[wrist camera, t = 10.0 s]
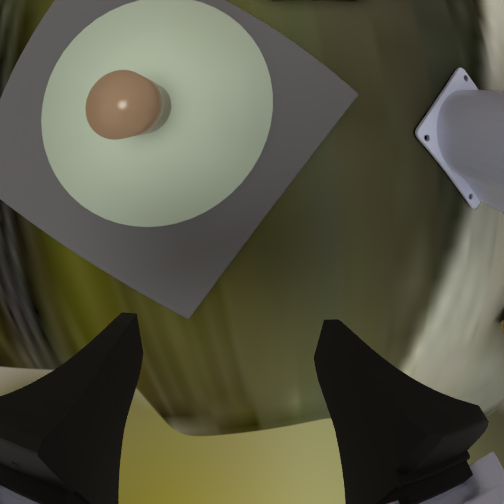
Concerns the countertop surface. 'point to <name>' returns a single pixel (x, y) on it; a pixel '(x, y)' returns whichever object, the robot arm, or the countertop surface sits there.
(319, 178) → the countertop surface
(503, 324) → the picnic basket
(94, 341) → the robot arm
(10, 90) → the rubber mat
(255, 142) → the lid
